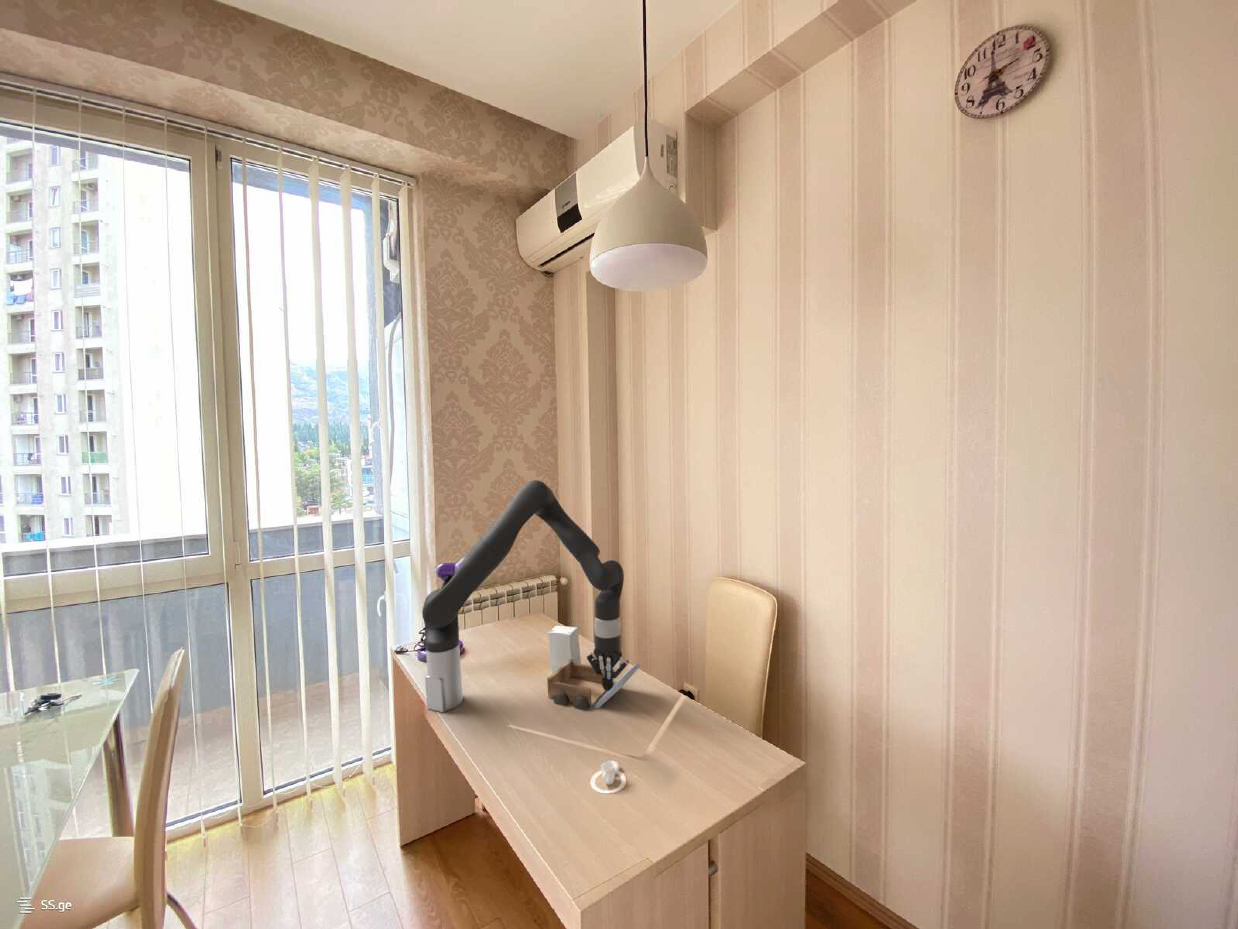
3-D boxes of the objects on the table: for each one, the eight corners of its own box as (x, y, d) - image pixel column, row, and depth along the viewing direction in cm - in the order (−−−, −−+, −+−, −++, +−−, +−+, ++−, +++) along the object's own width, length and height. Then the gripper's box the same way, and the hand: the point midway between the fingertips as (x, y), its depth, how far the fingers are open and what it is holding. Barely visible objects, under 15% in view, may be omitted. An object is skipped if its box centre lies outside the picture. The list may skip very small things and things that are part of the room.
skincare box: (581, 671, 165) (579, 627, 164) (573, 680, 160) (570, 634, 158) (559, 667, 168) (557, 624, 167) (550, 676, 163) (547, 630, 162)
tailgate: (596, 709, 141) (623, 685, 137) (594, 706, 141) (620, 682, 137) (615, 688, 152) (640, 666, 148) (612, 685, 152) (637, 662, 148)
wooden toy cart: (587, 714, 140) (586, 690, 139) (545, 704, 146) (543, 681, 145) (613, 686, 155) (612, 664, 154) (574, 678, 161) (572, 656, 160)
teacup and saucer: (608, 764, 119) (608, 748, 119) (635, 778, 114) (634, 761, 114) (583, 785, 113) (582, 768, 112) (610, 801, 107) (609, 783, 107)
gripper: (580, 632, 144) (581, 690, 146) (623, 640, 139) (623, 701, 140) (593, 622, 151) (593, 678, 153) (633, 630, 145) (634, 688, 147)
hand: (607, 689), depth 146 cm, fingers closed
